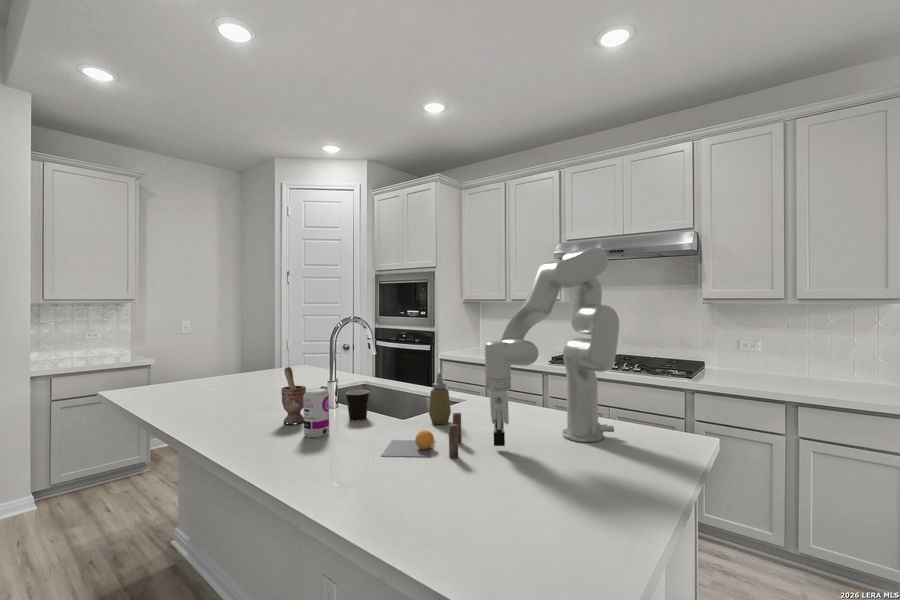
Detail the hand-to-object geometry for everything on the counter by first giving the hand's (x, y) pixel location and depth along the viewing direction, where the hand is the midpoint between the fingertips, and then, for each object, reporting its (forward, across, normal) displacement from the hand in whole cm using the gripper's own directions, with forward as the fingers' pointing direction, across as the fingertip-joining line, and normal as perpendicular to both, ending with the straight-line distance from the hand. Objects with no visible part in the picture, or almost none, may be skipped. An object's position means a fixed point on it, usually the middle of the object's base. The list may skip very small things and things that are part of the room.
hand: (499, 444), depth 129 cm
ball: (-1, 0, +22) cm, 22 cm away
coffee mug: (+2, +34, +53) cm, 63 cm away
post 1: (+2, +6, +13) cm, 15 cm away
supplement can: (+2, +12, +61) cm, 62 cm away
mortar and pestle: (+2, +27, +77) cm, 82 cm away
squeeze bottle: (+2, +28, +21) cm, 35 cm away
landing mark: (+2, 0, +27) cm, 27 cm away
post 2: (+2, -6, +13) cm, 15 cm away
